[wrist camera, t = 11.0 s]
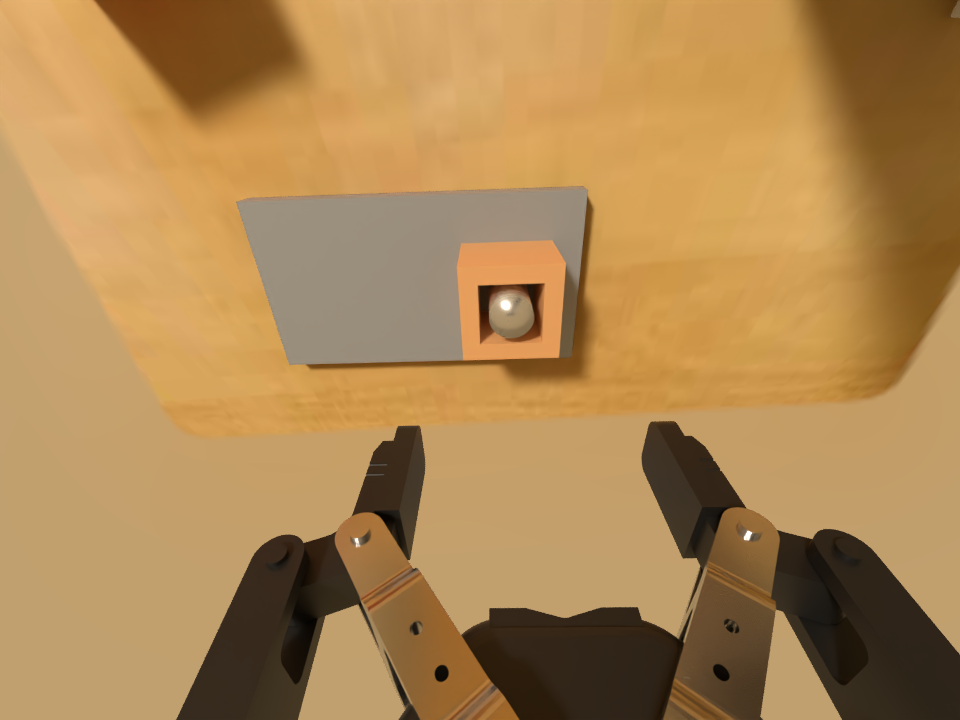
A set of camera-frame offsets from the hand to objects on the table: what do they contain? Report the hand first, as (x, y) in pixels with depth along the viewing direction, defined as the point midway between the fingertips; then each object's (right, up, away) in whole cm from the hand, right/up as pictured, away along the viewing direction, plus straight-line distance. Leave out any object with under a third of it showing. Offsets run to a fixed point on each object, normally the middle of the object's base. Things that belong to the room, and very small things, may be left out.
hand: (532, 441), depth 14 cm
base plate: (-6, +9, +15) cm, 18 cm away
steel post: (0, +9, +15) cm, 17 cm away
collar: (0, +8, +14) cm, 16 cm away
